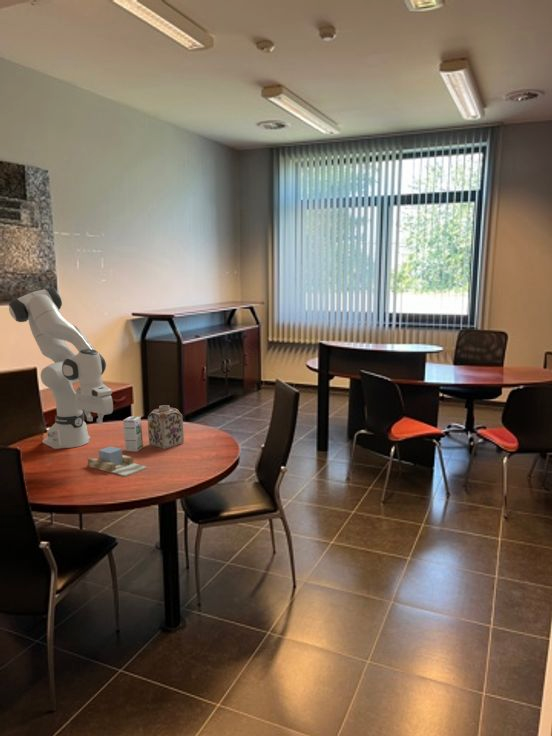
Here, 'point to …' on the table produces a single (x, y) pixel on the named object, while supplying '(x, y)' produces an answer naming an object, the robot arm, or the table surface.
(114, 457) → the slate block
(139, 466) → the chute
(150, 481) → the table surface
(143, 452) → the table surface
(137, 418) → the syrup box
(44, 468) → the table surface
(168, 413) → the decorative jar
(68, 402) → the robot arm
